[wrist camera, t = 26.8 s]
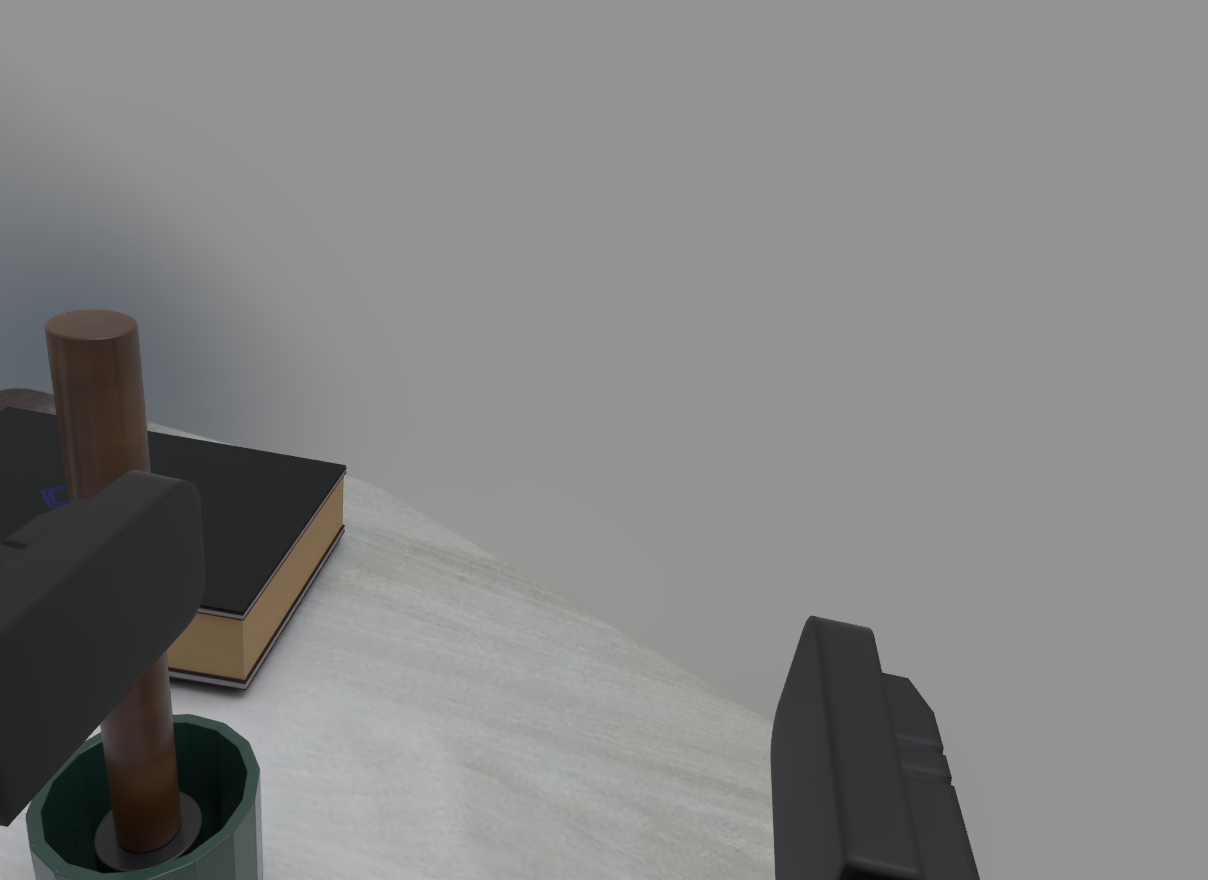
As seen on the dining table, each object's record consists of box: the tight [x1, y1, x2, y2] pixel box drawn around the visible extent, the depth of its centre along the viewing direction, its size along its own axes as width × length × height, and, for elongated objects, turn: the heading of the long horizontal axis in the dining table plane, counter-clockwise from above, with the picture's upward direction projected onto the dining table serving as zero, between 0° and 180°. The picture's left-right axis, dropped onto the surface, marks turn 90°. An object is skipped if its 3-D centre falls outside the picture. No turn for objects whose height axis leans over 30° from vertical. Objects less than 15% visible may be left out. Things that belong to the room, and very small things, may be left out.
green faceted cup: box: [26, 714, 263, 880], centre depth 37 cm, size 8×8×9 cm
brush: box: [45, 310, 205, 873], centre depth 32 cm, size 4×4×28 cm
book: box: [0, 407, 346, 690], centre depth 58 cm, size 17×25×7 cm
